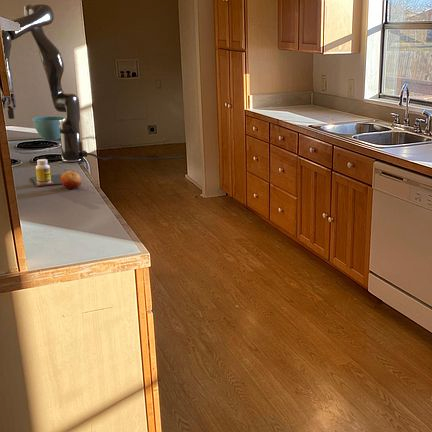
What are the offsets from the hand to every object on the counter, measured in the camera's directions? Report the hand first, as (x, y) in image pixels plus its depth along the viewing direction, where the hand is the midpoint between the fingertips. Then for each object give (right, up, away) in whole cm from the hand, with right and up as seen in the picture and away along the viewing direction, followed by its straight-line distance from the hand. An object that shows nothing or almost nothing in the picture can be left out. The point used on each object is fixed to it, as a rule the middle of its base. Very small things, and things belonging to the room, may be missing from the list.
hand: (7, 120), depth 237 cm
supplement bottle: (+14, -26, +4) cm, 30 cm away
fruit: (+27, -29, -1) cm, 40 cm away
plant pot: (-23, +6, +101) cm, 103 cm away
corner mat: (+16, -25, +10) cm, 31 cm away
